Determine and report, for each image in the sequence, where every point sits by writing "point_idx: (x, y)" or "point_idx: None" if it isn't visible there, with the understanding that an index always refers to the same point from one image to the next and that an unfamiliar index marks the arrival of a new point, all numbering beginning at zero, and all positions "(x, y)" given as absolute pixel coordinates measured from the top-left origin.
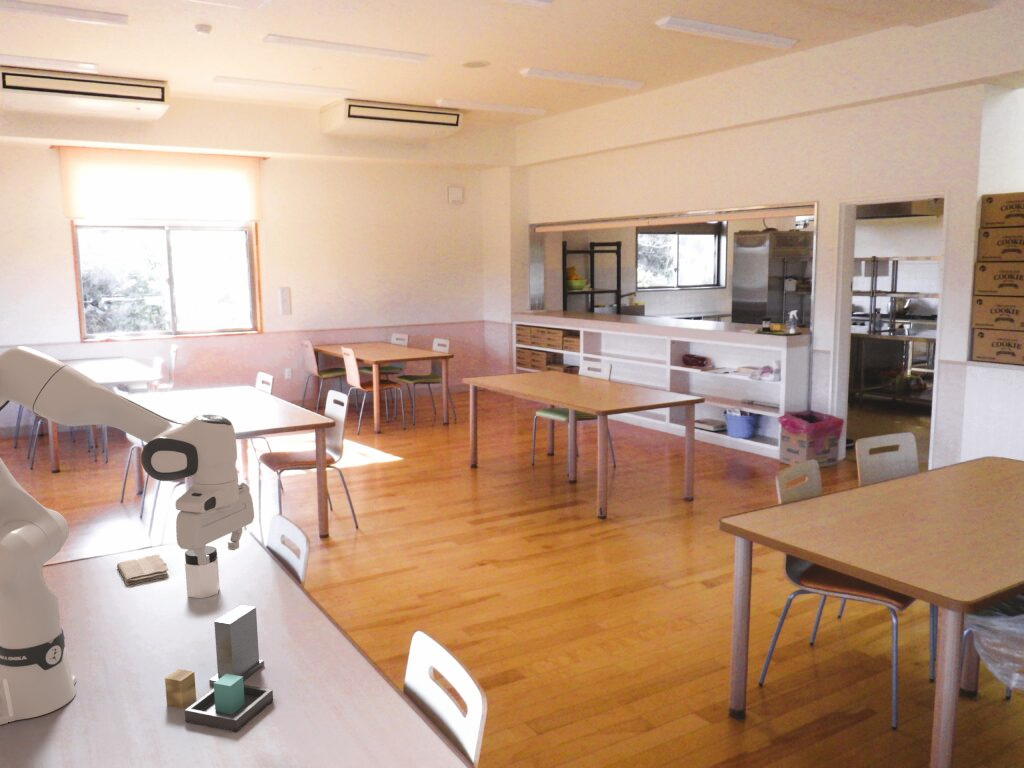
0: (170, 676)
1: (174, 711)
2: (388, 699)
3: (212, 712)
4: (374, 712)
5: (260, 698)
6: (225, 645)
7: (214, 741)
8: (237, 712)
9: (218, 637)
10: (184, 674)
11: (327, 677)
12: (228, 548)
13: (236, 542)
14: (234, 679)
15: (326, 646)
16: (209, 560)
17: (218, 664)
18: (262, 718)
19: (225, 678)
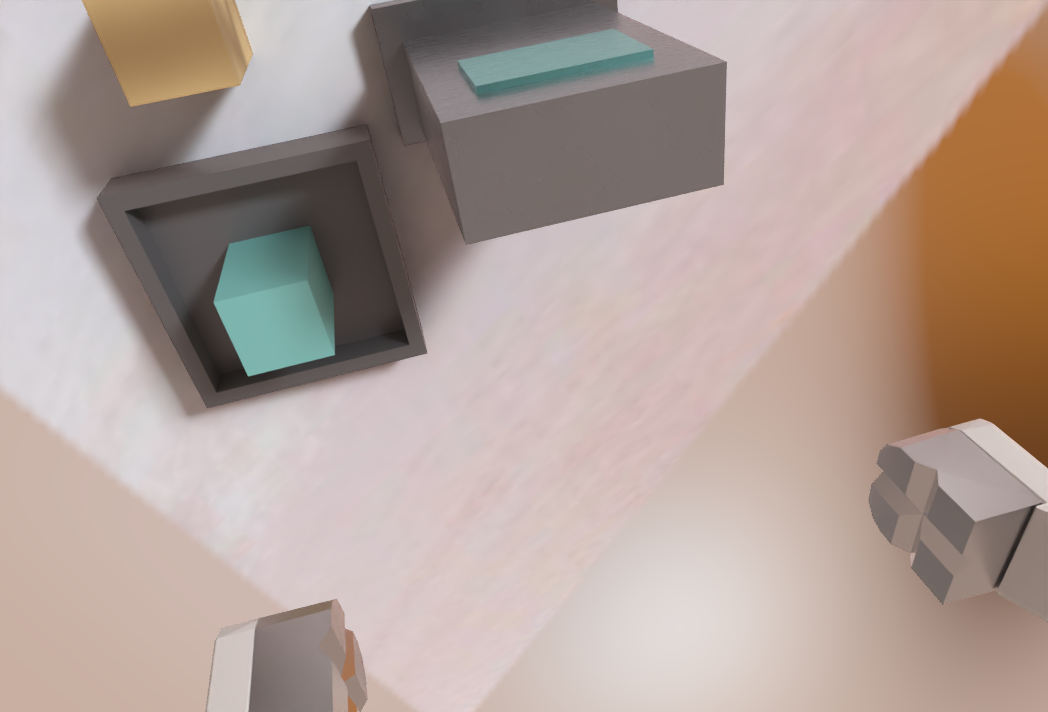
0: (112, 1)
1: None
2: (585, 544)
3: (214, 242)
4: (518, 559)
5: (359, 365)
6: (436, 151)
7: (126, 367)
8: None
9: (432, 117)
10: (185, 58)
11: (624, 355)
12: (896, 450)
13: (974, 589)
14: (295, 348)
15: (820, 196)
16: (363, 700)
17: (411, 64)
18: (324, 380)
19: (276, 311)
